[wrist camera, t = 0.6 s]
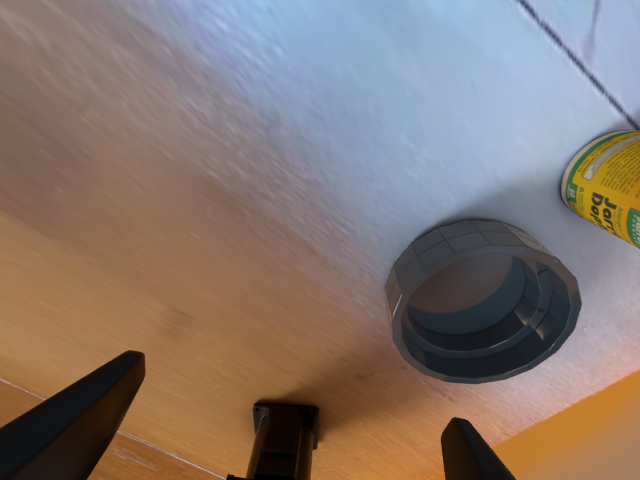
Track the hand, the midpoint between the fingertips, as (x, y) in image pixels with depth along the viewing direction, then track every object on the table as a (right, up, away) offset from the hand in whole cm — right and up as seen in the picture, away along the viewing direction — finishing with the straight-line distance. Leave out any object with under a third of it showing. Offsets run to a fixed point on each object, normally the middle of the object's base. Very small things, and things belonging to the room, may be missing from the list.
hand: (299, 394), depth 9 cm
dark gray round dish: (+11, +1, +14) cm, 18 cm away
